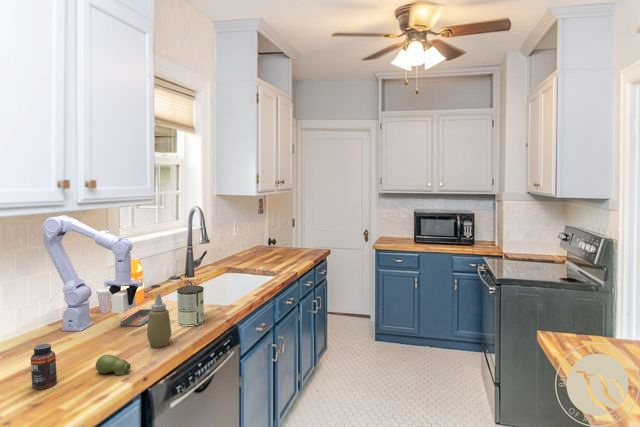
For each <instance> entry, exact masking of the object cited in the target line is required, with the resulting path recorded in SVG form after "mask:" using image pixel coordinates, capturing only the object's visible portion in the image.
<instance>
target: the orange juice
mask: <svg viewBox="0 0 640 427" xmlns="http://www.w3.org/2000/svg"><path fill="white" fill-rule="evenodd" d="M131 280H135V281H143V286H142V287H138V289H137V291H136V305H138V304H140V303H141V302H143V301H145V300H144V298H145V293H144V290H145V289H144V286H145V284H144V269H143V266H142V263H141V260H140V259H131ZM128 287H129V286H121V290H123V289H126V288H128Z"/></svg>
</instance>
